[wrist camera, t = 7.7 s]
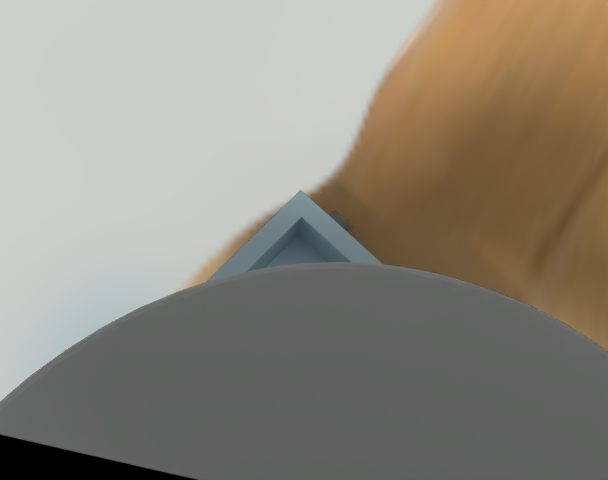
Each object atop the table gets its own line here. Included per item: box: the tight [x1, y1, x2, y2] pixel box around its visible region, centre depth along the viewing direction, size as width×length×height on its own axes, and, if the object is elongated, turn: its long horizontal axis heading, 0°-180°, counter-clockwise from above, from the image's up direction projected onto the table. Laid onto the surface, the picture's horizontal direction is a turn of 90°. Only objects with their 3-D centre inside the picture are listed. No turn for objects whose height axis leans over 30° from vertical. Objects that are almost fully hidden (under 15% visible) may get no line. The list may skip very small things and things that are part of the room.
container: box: [0, 262, 608, 480], centre depth 9 cm, size 5×5×15 cm
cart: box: [205, 190, 382, 283], centre depth 16 cm, size 15×10×4 cm
